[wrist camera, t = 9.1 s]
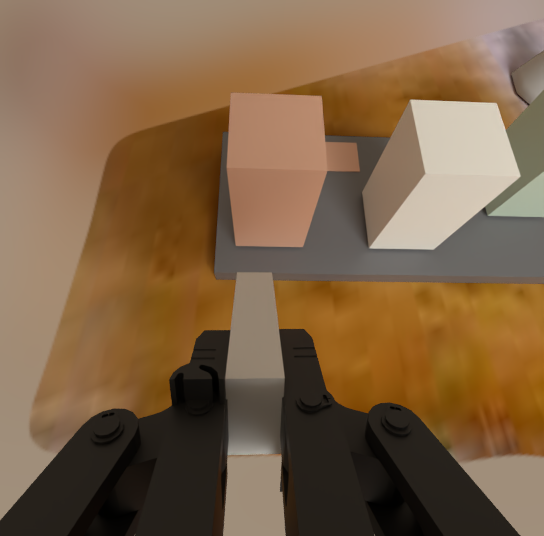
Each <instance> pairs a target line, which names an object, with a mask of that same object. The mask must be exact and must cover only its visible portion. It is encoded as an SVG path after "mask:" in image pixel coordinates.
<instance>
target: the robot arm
mask: <svg viewBox="0 0 544 536" xmlns="http://www.w3.org/2000/svg"><path fill="white" fill-rule="evenodd" d="M169 382H170V390H171V399H172V406H171V407H169V408H168V409H166V410H164V411H162V412H160V413H157V414H154V415H150V416H147V417H143V418H140V419H138V418H137V417H136V416H135V414H134V413H133V412H131V411H129V410H126V409H111V410H107V411H103V412H101V413H99V414H97V415H95V416H93V417H92V418H90V419H89V420H88V421H87V422H86V423H85V424H84V425H82V427H81V428H80V429H79V430H78V431H77V432H76V433H75V435H74V436H73V437H72V438H71V439H70V440H69V442H68V443H67V444H66V445H65V446H64V447H63V449H62V450H61V451H60V452H59V453H58V454H57V455H56V457H55V458H54V459H53V460H52V461H51V462H50V464H49V465H48V466H47V467H46V468H45V469H44V471H43V472H42V473H41V474H40V475H39V476H38V477H37V479H36V480H35V481H34V482H33V483H32V484H31V486H30V487H29V488H28V489H27V490H26V492H25V493H24V494H23V495H22V496H21V497H20V498H19V499H18V501H17V502H16V503H15V504H14V505H13V507H12V508H11V509H10V510H9V511H8V512H7V513H6V514H5V516H4V517H3V518H2V519H1V520H0V536H223V528H224V515H225V501H226V486H227V455H249V454H281V455H282V466H281V483H280V492H283V504H284V518H285V532H286V536H374V534H375V536H520V535H519V534H518V533H517V531H516V530H515V529H514V528H513V527H512V526H511V524H510V523H509V522H508V521H507V520H506V519H505V517H504V516H503V515H502V514H501V513H500V512H499V510H498V509H497V508H496V507H495V506H494V505H493V503H492V502H491V501H490V500H489V499H488V498H487V496H486V495H485V494H484V493H483V492H482V491H481V489H480V488H479V487H478V486H477V485H476V484H475V482H474V481H473V480H472V479H471V478H470V477H469V475H468V474H467V473H466V472H465V471H464V470H463V468H462V467H461V466H460V465H459V464H458V463H457V461H456V460H455V459H454V458H453V457H452V456H451V454H450V453H449V452H448V451H447V450H446V449H445V447H444V446H443V445H442V444H441V443H440V442H439V440H438V439H437V438H436V437H435V436H434V435H433V433H432V432H431V431H430V430H429V429H428V428H427V426H426V425H425V424H424V423H423V422H422V421H421V419H420V418H419V417H418V416H416V415H415V414H414V413H413V412H412V411H411V410H409V409H407V408H405V407H403V406H401V405H398V404H393V403H380V404H378V405H375V406H373V407H372V409H371V410H370V411H369V413H364V412H360V411H356V410H352V409H349V408H346V407H344V406H342V405H340V404H338V403H337V402H336V401H335V400H334V398H333V396H332V395H331V394H330V393H329V392H328V391H327V390H326V387H325V383H324V380H323V376H322V372H321V369H320V365H319V361H318V358H317V354H316V350H315V347H314V343H313V339H312V337H311V336H310V335H309V334H308V333H307V332H306V331H305V330H304V329H279V326H278V318H277V310H276V302H275V293H274V285H273V277H272V272H237V278H236V287H235V296H234V305H233V313H232V322H231V330H208V331H204V332H203V333H202V334H201V335H200V336H199V337H198V338H197V339H196V342H195V346H194V351H193V353H192V357H191V361H190V363H189V364H186V365H184V366H181V367H180V368H179V369H177V370H176V371H175V372H174V373H173V374H172V376H171V377H170V379H169Z"/></svg>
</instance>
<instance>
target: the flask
mask: <svg viewBox="0 0 544 536" xmlns="http://www.w3.org/2000/svg"><path fill="white" fill-rule="evenodd" d="M511 74H512V77H513V81H514V85H515V88H516V92H517V94H518V95H519V96H521V97H522V98H523V99H524V100H525V101H526V102H528V103H529V104H531V103H532V102H533V101H534V100H535V98H536V97H537V96H538V95H539V94H540V93H541V92H542V91H543V90H544V51H543V52H541V53H540V54H538V55H537V56H535V57H534V58H532V59H531V60H530V61H528V62H527V63H525V64H524V65H522V66H521V67H520V68H518V69H517V70H515V71H514V72H513V73H511Z"/></svg>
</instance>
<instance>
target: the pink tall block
mask: <svg viewBox="0 0 544 536" xmlns="http://www.w3.org/2000/svg"><path fill="white" fill-rule="evenodd" d="M327 171H328V170H327V158H326V145H325V132H324V119H323V106H322V96H306V95H281V94H255V93H231V99H230V116H229V134H228V152H227V175H228V184H229V192H230V201H231V210H232V218H233V227H234V235H235V244H236V246H264V247H303V245H304V242H305V239H306V236H307V233H308V230H309V227H310V224H311V221H312V217H313V214H314V211H315V208H316V205H317V202H318V199H319V196H320V193H321V189H322V186H323V183H324V180H325V177H326V174H327Z"/></svg>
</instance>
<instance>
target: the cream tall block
mask: <svg viewBox="0 0 544 536" xmlns="http://www.w3.org/2000/svg"><path fill="white" fill-rule="evenodd" d="M520 177H521V176H520V172H519V169H518V166H517V163H516V160H515V157H514V154H513V151H512V148H511V145H510V142H509V139H508V136H507V133H506V130H505V127H504V124H503V121H502V118H501V115H500V112H499V109H498V106H497V103H480V102H455V101H430V100H410V101H409V103H408V105H407V107H406V109H405V111H404V113H403V115H402V117H401V119H400V120H399V122H398V124H397V126H396V128H395V130H394V132H393V134H392V136H391V138H390V140H389V142H388V143H387V145H386V147H385V149H384V151H383V153H382V155H381V157H380V159H379V161H378V163H377V165H376V167H375V168H374V170H373V172H372V174H371V176H370V178H369V180H368V182H367V184H366V186H365V188H364V190H363V191H362V195H363V203H364V212H365V220H366V228H367V237H368V245H369V248H374V249H428V250H434V249H435V248H436V247H437V246H438V245H440V244H441V243H442V242H443V241H444V240H446V239H447V238H448V237H449V236H450V235H452V234H453V233H454V232H455V231H456V230H458V229H459V228H460V227H461V226H462V225H464V224H465V223H466V222H467V221H468V220H469V219H471V218H472V217H473V216H474V215H475V214H477V213H478V212H479V211H480V210H481V209H483V208H484V207H485V206H486V205H487V204H489V203H490V202H491V201H492V200H493V199H495V198H496V197H497V196H498V195H499V194H500V193H502V192H503V191H504V190H505V189H506V188H508V187H509V186H510V185H511V184H512V183H514V182H515V181H516V180H517V179H518V178H520Z"/></svg>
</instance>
